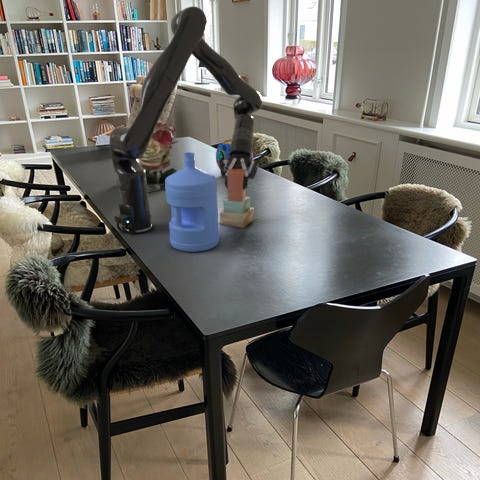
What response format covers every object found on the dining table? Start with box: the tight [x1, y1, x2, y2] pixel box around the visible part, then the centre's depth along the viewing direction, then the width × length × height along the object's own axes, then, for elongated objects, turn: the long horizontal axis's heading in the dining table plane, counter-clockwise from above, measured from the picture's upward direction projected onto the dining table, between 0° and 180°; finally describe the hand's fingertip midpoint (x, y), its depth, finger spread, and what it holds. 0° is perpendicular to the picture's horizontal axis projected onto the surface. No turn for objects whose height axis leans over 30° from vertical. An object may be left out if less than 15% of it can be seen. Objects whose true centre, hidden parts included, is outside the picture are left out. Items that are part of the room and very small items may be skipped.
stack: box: [219, 196, 255, 229], centre depth 171 cm, size 9×9×8 cm
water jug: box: [164, 151, 220, 253], centre depth 149 cm, size 16×16×28 cm
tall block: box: [227, 169, 247, 201], centre depth 167 cm, size 5×5×10 cm
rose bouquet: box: [137, 116, 179, 193], centre depth 209 cm, size 26×29×30 cm
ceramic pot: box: [215, 138, 254, 173], centre depth 228 cm, size 18×18×15 cm
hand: (235, 187), depth 165 cm, fingers closed on tall block, 5 cm apart
